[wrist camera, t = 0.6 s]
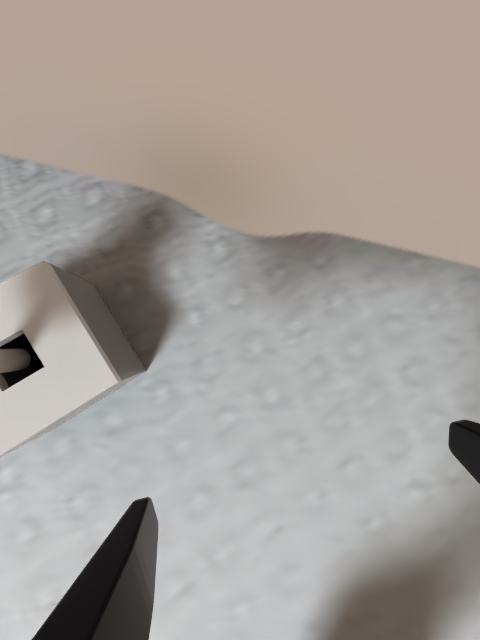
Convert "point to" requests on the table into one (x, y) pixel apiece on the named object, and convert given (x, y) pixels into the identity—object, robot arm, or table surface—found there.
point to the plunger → (13, 360)
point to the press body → (57, 352)
